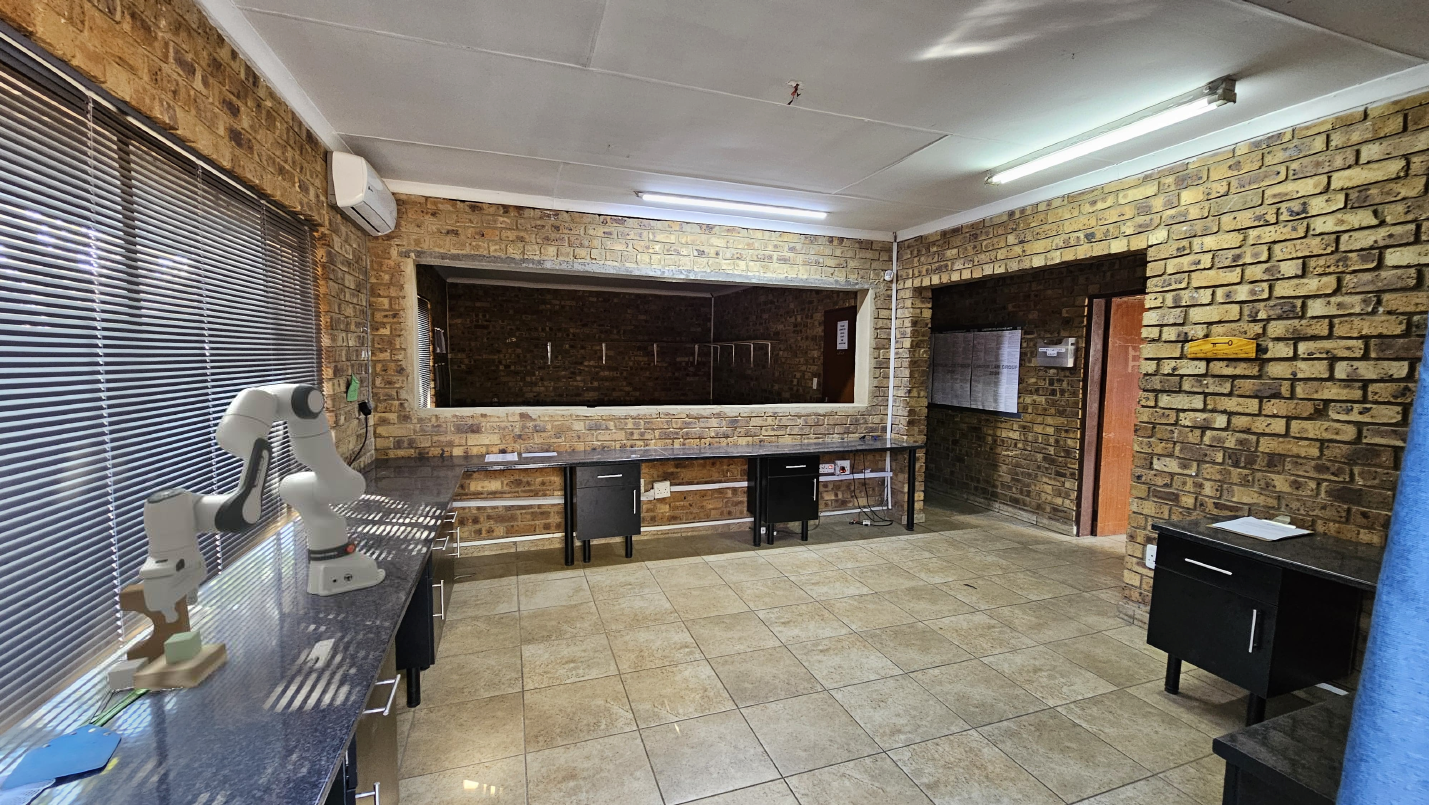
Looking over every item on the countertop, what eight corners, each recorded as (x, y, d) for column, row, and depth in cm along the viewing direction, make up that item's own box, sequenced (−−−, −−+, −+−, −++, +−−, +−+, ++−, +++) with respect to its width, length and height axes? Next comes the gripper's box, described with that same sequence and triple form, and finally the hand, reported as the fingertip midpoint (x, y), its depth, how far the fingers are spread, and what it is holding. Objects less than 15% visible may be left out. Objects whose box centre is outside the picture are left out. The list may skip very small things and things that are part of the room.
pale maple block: (227, 661, 146) (225, 642, 145) (196, 688, 134) (194, 667, 134) (171, 668, 143) (169, 649, 143) (135, 696, 131) (132, 675, 131)
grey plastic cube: (150, 677, 139) (147, 657, 139) (138, 687, 134) (136, 667, 134) (123, 682, 137) (120, 662, 137) (110, 693, 132) (108, 672, 132)
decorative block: (127, 670, 142) (117, 593, 140) (138, 660, 147) (128, 584, 145) (185, 659, 147) (176, 583, 145) (193, 649, 152) (185, 576, 150)
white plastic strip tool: (297, 674, 138) (296, 669, 138) (313, 646, 152) (313, 642, 152) (322, 668, 140) (321, 664, 140) (335, 641, 154) (335, 637, 154)
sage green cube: (202, 649, 142) (199, 629, 142) (192, 658, 138) (190, 638, 137) (176, 653, 140) (173, 634, 140) (166, 663, 136) (163, 643, 135)
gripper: (180, 545, 146) (187, 597, 147) (133, 575, 127) (142, 634, 128) (211, 541, 148) (218, 593, 149) (169, 570, 129) (178, 628, 130)
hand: (182, 612), depth 139 cm, fingers open, 8 cm apart
